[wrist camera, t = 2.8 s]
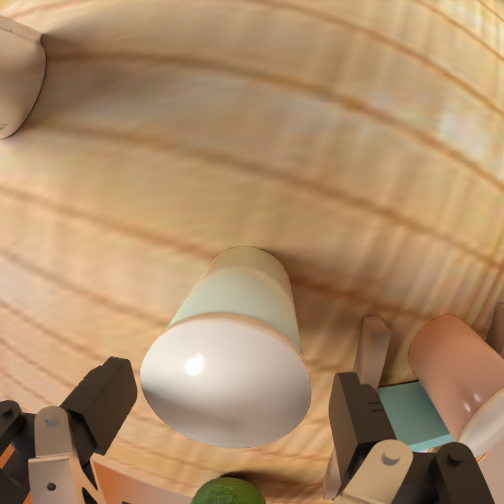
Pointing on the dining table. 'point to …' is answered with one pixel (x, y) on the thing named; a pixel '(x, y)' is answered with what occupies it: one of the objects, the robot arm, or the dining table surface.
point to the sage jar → (231, 356)
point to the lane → (370, 370)
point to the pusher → (414, 416)
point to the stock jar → (461, 381)
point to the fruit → (228, 492)
